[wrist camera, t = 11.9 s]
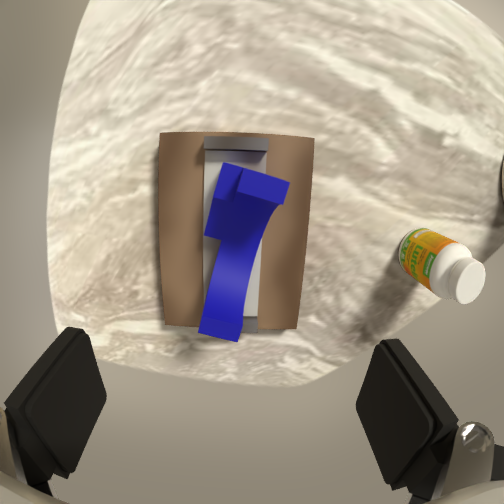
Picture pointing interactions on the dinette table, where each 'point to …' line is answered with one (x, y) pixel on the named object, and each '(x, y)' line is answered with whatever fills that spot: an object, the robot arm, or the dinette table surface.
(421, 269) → the supplement bottle
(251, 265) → the blue curved piece
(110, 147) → the dinette table surface
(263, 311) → the rail board
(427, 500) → the robot arm
